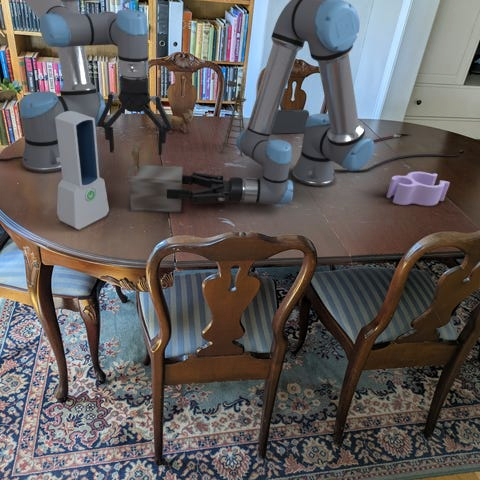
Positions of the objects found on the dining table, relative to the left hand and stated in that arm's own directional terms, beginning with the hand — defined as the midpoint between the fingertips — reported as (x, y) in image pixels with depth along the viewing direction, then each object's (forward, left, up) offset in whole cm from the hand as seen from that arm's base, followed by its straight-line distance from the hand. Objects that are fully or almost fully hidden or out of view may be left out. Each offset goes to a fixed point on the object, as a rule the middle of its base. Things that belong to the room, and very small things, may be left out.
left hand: (136, 152), depth 134 cm
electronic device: (-12, -13, -17) cm, 24 cm away
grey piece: (+5, +1, -7) cm, 9 cm away
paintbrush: (+89, +90, -17) cm, 128 cm away
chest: (+6, +1, -17) cm, 18 cm away
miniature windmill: (+22, +52, -17) cm, 59 cm away
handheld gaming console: (+40, +80, -17) cm, 91 cm away
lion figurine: (-4, +65, -17) cm, 67 cm away
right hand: (+9, +2, -10) cm, 14 cm away
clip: (+89, +31, -17) cm, 96 cm away
